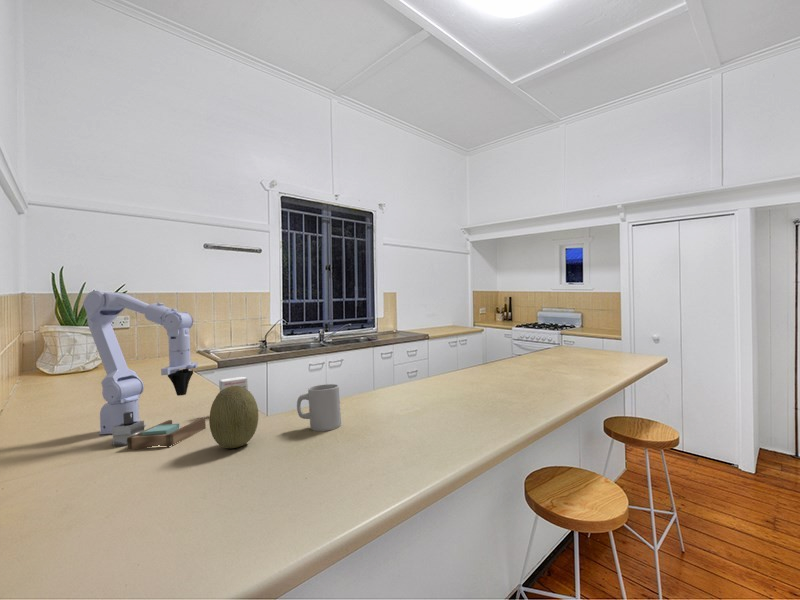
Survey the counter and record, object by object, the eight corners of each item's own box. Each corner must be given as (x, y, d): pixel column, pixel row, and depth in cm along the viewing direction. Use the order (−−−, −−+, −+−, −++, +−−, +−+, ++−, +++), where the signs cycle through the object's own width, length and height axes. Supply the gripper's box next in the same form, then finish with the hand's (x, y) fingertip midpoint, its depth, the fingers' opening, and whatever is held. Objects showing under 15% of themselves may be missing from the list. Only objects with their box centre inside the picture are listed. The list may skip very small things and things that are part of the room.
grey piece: (106, 447, 99) (105, 428, 99) (126, 438, 106) (126, 420, 106) (131, 445, 99) (131, 426, 99) (150, 437, 106) (149, 419, 106)
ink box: (222, 416, 124) (220, 381, 125) (220, 413, 128) (218, 379, 129) (249, 411, 129) (247, 377, 130) (246, 408, 133) (244, 375, 134)
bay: (127, 449, 96) (127, 437, 96) (168, 430, 112) (168, 420, 112) (170, 447, 95) (170, 435, 95) (205, 428, 111) (205, 417, 111)
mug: (343, 421, 108) (340, 383, 108) (339, 430, 99) (336, 388, 100) (302, 424, 108) (299, 386, 108) (294, 433, 99) (291, 392, 100)
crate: (142, 448, 97) (141, 432, 97) (157, 440, 103) (156, 425, 103) (166, 446, 97) (165, 430, 97) (179, 438, 103) (179, 423, 103)
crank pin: (122, 434, 102) (121, 413, 102) (128, 431, 104) (127, 411, 104) (129, 433, 101) (128, 413, 102) (136, 431, 104) (135, 411, 104)
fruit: (212, 444, 95) (209, 385, 96) (259, 435, 100) (255, 379, 100) (208, 458, 85) (205, 392, 85) (261, 448, 89) (257, 385, 90)
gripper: (176, 352, 108) (178, 399, 107) (205, 348, 122) (207, 389, 121) (153, 354, 108) (155, 401, 107) (185, 349, 122) (186, 390, 122)
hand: (181, 395), depth 114 cm, fingers closed
